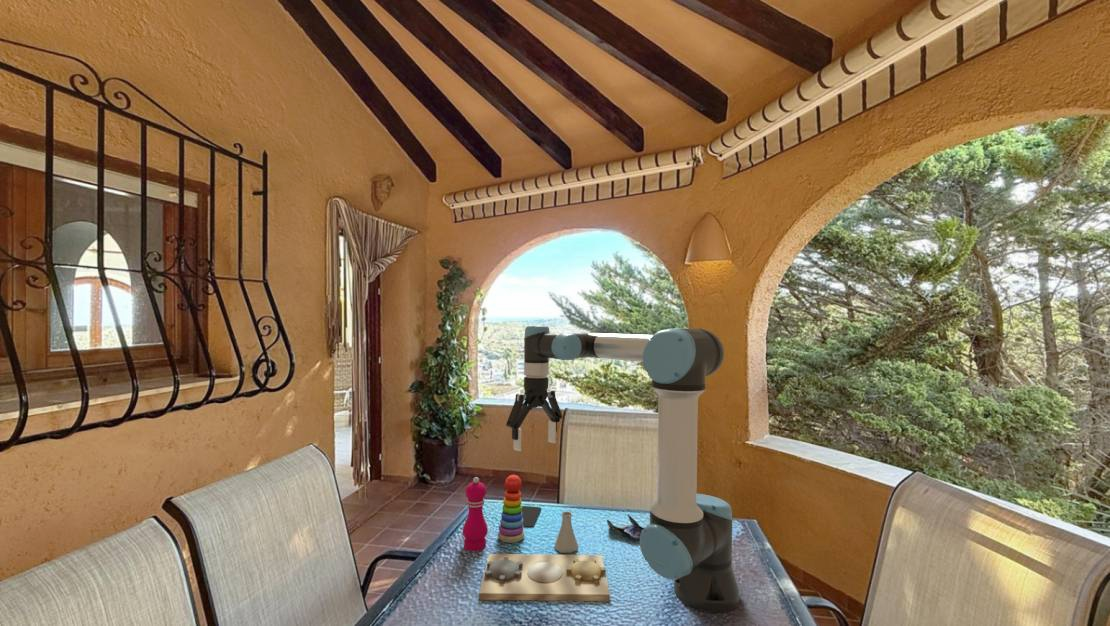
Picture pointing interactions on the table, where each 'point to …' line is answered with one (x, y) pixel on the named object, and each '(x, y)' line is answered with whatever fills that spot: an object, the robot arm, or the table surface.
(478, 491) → the pepper mill
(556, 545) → the flask
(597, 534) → the table surface
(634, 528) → the snack package
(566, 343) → the robot arm
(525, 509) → the phone
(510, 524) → the stacking toy
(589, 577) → the gear board
